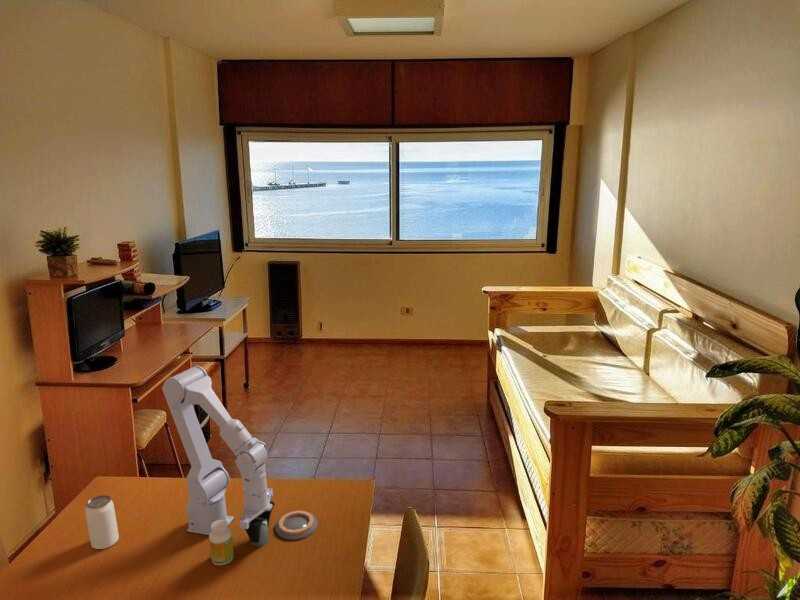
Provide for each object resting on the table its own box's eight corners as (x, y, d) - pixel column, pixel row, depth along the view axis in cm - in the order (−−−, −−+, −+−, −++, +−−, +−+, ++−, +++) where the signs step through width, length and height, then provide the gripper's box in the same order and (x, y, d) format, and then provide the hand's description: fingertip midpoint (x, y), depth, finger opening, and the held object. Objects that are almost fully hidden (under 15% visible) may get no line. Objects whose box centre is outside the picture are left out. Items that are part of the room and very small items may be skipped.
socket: (268, 536, 151) (268, 531, 150) (285, 511, 161) (285, 506, 160) (308, 542, 148) (307, 537, 148) (323, 516, 158) (322, 511, 158)
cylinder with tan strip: (247, 545, 147) (245, 525, 146) (255, 534, 152) (253, 514, 150) (264, 547, 146) (262, 528, 145) (271, 536, 151) (270, 517, 149)
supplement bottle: (227, 567, 140) (224, 533, 137) (207, 564, 141) (203, 530, 138) (238, 552, 145) (234, 519, 142) (218, 549, 146) (214, 516, 143)
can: (124, 537, 151) (118, 497, 147) (103, 553, 145) (96, 512, 142) (107, 531, 153) (100, 491, 150) (85, 546, 148) (78, 505, 144)
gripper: (256, 508, 137) (260, 556, 141) (282, 475, 151) (285, 520, 154) (229, 504, 139) (234, 552, 142) (257, 472, 152) (261, 516, 156)
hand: (259, 535), depth 149 cm, fingers closed on cylinder with tan strip, 4 cm apart
